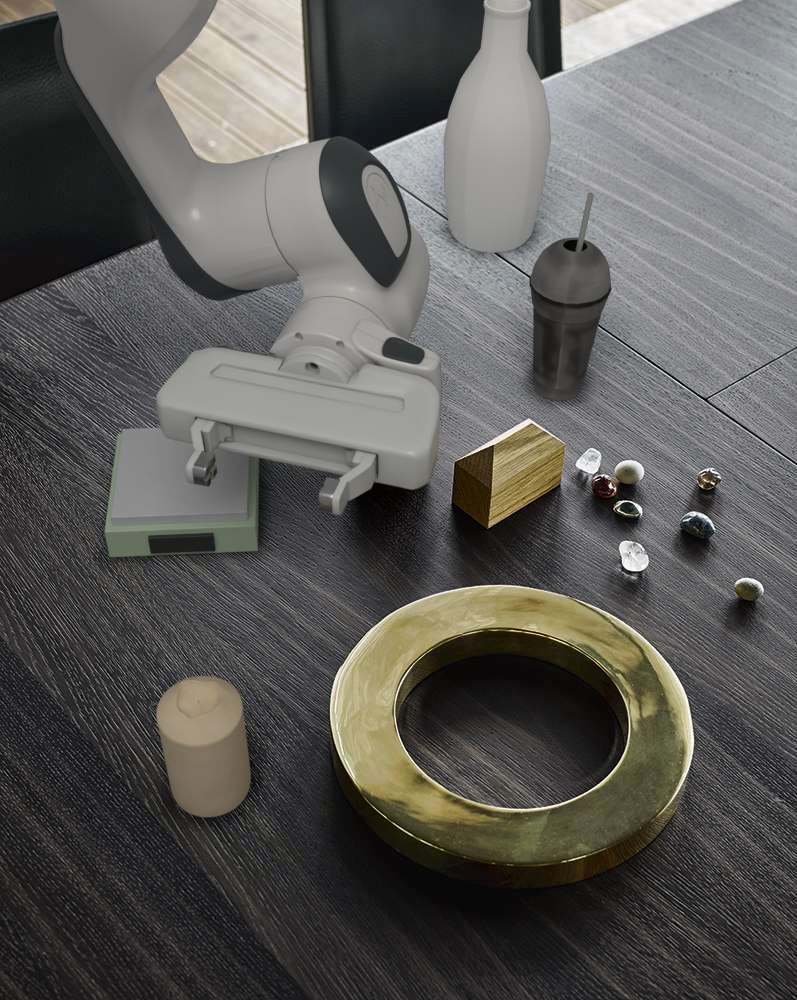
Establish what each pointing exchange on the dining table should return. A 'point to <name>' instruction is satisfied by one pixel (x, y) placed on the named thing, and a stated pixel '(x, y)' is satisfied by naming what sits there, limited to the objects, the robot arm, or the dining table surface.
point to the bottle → (497, 137)
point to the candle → (205, 745)
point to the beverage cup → (567, 311)
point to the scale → (178, 500)
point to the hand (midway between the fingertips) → (261, 492)
